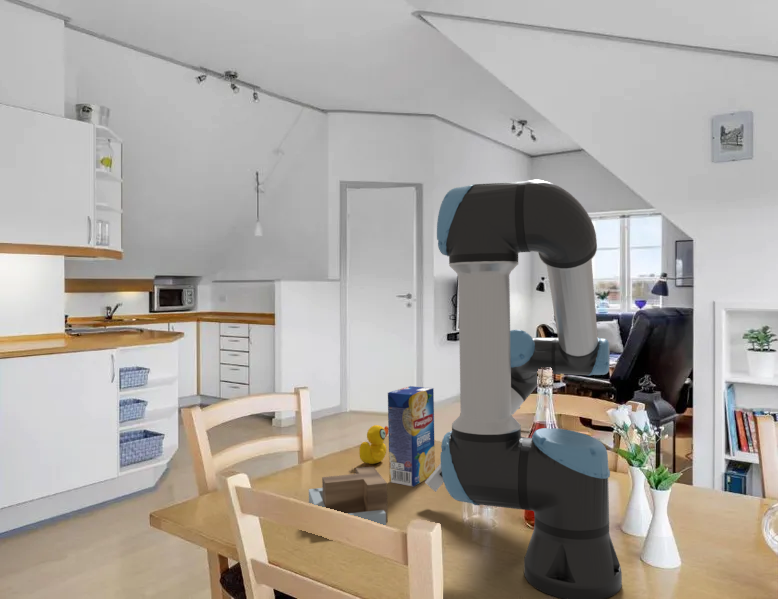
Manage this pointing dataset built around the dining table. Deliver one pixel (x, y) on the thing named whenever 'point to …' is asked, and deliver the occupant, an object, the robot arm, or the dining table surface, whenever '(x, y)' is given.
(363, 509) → the t block
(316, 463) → the dining table surface
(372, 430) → the duckling
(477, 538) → the dining table surface
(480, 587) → the dining table surface
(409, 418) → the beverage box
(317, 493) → the fence
